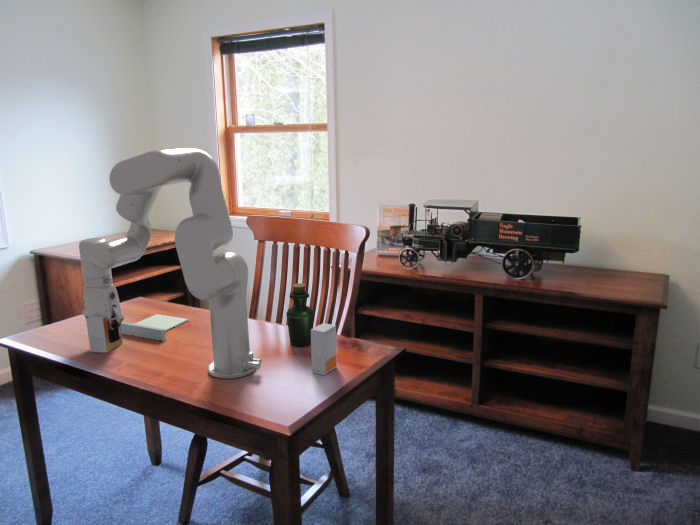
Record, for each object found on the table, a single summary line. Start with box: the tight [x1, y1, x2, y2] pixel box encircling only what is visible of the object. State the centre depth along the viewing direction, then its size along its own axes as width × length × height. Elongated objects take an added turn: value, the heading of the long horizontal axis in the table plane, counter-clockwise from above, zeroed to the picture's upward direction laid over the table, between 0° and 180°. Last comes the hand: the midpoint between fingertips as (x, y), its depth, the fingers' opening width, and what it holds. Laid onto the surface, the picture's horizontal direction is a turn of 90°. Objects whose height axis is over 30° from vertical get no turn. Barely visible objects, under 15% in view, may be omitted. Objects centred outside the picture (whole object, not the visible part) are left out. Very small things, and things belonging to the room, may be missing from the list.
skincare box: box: [310, 322, 337, 376], centre depth 145 cm, size 6×4×12 cm
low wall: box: [120, 321, 167, 342], centre depth 173 cm, size 24×1×4 cm, turn 65°
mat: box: [134, 313, 190, 332], centre depth 182 cm, size 14×14×1 cm
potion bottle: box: [286, 282, 315, 348], centre depth 163 cm, size 8×8×18 cm
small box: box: [85, 316, 123, 354], centre depth 163 cm, size 8×6×10 cm
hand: (105, 339), depth 163 cm, fingers closed on small box, 6 cm apart
